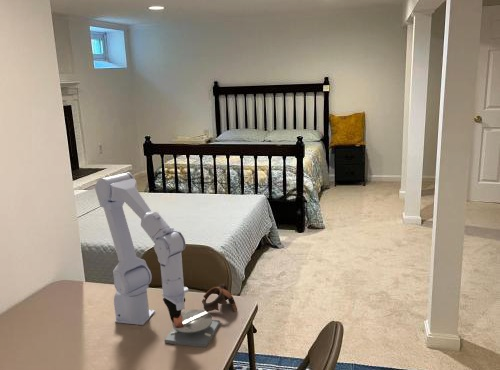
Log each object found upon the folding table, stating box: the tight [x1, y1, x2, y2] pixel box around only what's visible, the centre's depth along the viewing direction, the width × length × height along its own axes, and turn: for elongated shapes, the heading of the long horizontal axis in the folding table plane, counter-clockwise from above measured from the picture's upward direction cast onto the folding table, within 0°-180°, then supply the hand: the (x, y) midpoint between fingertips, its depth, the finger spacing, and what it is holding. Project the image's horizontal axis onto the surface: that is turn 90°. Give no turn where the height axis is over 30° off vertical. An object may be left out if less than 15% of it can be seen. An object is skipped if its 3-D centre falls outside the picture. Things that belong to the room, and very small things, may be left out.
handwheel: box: [172, 309, 213, 334], centre depth 127 cm, size 11×11×6 cm
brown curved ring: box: [201, 283, 238, 313], centre depth 140 cm, size 12×10×8 cm
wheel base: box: [164, 319, 221, 348], centre depth 128 cm, size 12×12×1 cm
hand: (175, 321), depth 125 cm, fingers closed, pressing on handwheel
